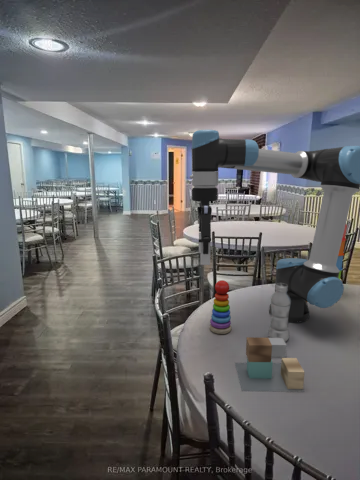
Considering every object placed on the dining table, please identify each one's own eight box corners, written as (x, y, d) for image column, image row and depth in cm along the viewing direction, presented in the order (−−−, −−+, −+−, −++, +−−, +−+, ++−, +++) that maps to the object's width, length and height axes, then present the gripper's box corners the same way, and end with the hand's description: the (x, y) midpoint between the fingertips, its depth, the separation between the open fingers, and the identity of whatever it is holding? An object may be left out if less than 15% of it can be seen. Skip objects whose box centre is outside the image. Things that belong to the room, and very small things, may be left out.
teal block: (267, 369, 85) (268, 353, 84) (271, 378, 81) (272, 362, 80) (246, 369, 85) (247, 353, 84) (249, 378, 82) (250, 361, 81)
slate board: (288, 365, 88) (289, 363, 88) (304, 394, 76) (304, 391, 76) (234, 364, 89) (234, 362, 88) (241, 393, 77) (241, 390, 77)
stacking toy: (231, 336, 105) (232, 285, 101) (208, 333, 106) (209, 284, 102) (231, 325, 112) (233, 278, 108) (210, 323, 114) (211, 276, 110)
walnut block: (267, 353, 84) (268, 337, 83) (271, 362, 80) (272, 345, 79) (245, 353, 84) (246, 337, 83) (248, 361, 81) (249, 345, 79)
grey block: (281, 352, 95) (282, 338, 94) (285, 359, 91) (286, 345, 90) (262, 352, 95) (263, 337, 94) (265, 359, 91) (266, 344, 90)
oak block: (280, 373, 83) (281, 357, 82) (294, 374, 83) (296, 358, 82) (287, 388, 77) (288, 371, 76) (302, 389, 77) (304, 372, 76)
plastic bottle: (278, 347, 97) (282, 290, 93) (264, 338, 103) (267, 283, 99) (292, 342, 100) (297, 286, 96) (277, 333, 106) (281, 280, 102)
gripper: (191, 185, 98) (191, 248, 103) (192, 188, 74) (192, 270, 78) (214, 185, 98) (213, 248, 102) (222, 188, 74) (220, 270, 78)
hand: (204, 258), depth 90 cm, fingers open, 13 cm apart
